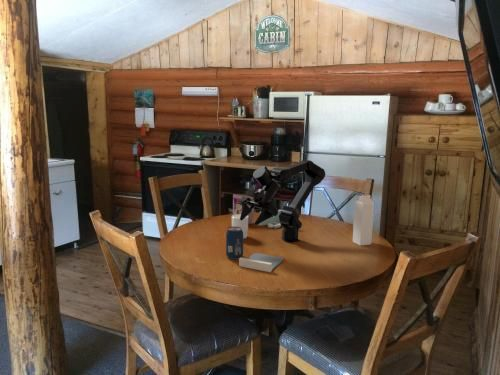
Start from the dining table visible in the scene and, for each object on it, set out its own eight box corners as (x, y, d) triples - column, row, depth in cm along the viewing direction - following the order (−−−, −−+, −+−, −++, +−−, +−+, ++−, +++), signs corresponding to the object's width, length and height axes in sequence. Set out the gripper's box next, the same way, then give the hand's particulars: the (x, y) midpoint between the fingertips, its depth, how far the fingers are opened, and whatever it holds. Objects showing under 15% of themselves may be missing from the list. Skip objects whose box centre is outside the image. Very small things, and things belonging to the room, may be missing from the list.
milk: (352, 241, 189) (354, 194, 185) (363, 240, 192) (366, 193, 187) (360, 245, 184) (363, 197, 180) (371, 244, 186) (374, 196, 182)
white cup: (249, 234, 198) (249, 214, 196) (247, 240, 190) (247, 218, 188) (232, 234, 199) (232, 213, 197) (230, 239, 191) (230, 218, 189)
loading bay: (255, 254, 172) (255, 247, 172) (284, 259, 167) (284, 252, 166) (239, 266, 159) (239, 258, 159) (270, 272, 154) (270, 264, 153)
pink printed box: (231, 222, 219) (231, 194, 216) (242, 219, 224) (242, 192, 221) (245, 227, 210) (245, 198, 207) (256, 224, 215) (256, 196, 212)
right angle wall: (259, 226, 214) (259, 211, 213) (279, 223, 219) (280, 209, 218) (270, 232, 204) (270, 217, 202) (291, 229, 209) (291, 215, 207)
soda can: (232, 252, 174) (232, 225, 172) (246, 255, 170) (246, 227, 168) (222, 257, 168) (222, 229, 166) (237, 261, 165) (237, 232, 162)
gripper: (243, 178, 178) (222, 206, 173) (273, 184, 165) (253, 215, 160) (256, 193, 185) (237, 221, 180) (286, 200, 172) (267, 231, 166)
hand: (247, 222), depth 171 cm, fingers open, 9 cm apart
